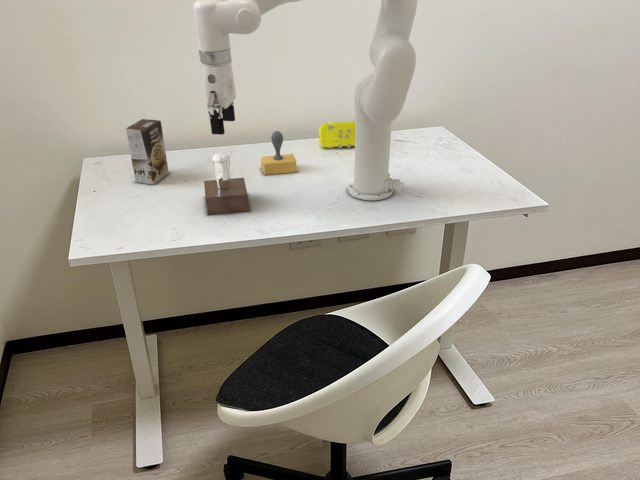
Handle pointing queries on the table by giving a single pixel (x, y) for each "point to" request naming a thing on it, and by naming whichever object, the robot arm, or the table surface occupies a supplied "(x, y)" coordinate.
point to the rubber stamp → (278, 159)
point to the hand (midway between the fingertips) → (223, 127)
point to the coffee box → (147, 151)
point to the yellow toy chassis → (337, 134)
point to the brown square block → (226, 197)
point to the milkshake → (222, 170)
